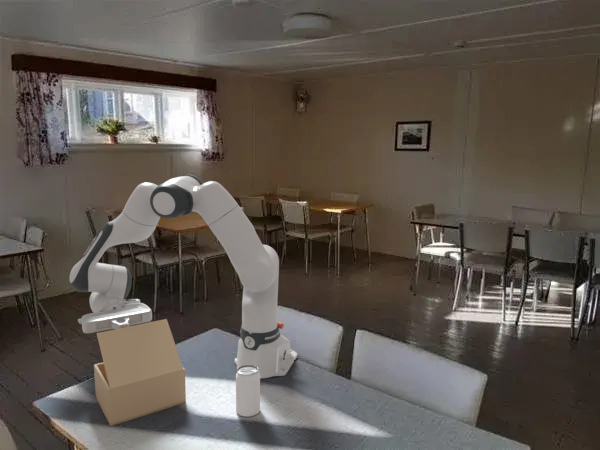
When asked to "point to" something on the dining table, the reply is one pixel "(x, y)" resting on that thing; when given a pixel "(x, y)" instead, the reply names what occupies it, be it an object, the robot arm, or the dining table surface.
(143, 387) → the carton
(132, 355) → the carton flap
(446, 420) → the dining table surface
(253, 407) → the can
